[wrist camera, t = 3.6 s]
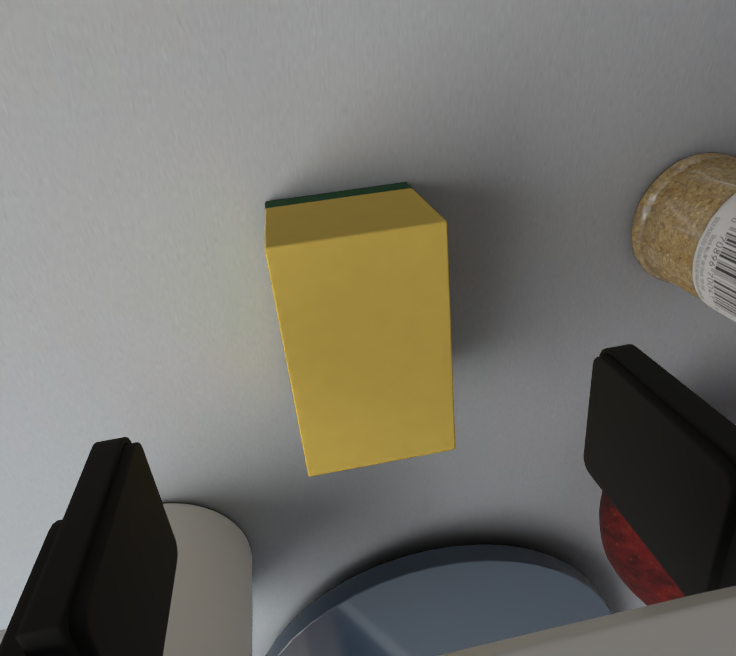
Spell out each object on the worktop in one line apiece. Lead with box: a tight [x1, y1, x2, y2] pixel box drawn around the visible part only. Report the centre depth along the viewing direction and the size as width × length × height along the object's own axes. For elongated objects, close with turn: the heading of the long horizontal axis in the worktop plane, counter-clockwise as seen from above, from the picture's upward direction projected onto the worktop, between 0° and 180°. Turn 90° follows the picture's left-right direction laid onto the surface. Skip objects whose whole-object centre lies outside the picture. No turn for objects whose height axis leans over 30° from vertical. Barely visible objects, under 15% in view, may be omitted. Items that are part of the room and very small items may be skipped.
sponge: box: [265, 182, 455, 476], centre depth 17 cm, size 7×4×4 cm, turn 6°
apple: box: [599, 491, 685, 605], centre depth 21 cm, size 7×8×8 cm
